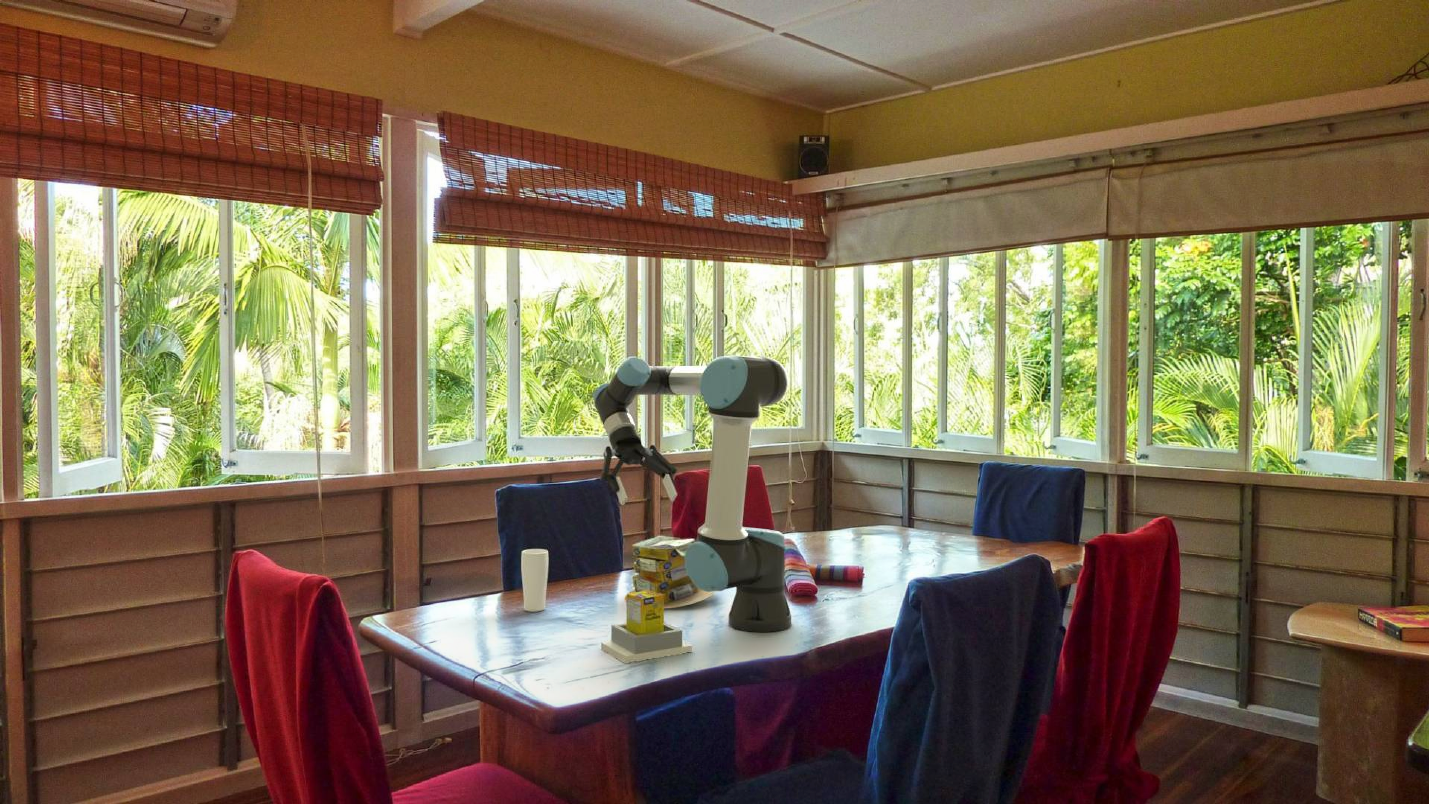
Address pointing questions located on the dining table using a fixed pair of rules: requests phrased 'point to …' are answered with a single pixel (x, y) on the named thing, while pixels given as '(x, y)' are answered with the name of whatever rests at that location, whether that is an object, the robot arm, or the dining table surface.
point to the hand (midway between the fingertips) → (649, 499)
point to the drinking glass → (534, 578)
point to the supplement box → (645, 612)
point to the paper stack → (665, 571)
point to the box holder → (644, 644)
